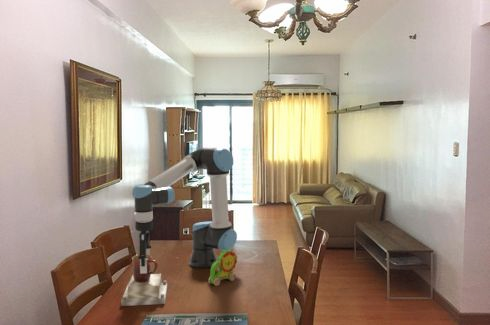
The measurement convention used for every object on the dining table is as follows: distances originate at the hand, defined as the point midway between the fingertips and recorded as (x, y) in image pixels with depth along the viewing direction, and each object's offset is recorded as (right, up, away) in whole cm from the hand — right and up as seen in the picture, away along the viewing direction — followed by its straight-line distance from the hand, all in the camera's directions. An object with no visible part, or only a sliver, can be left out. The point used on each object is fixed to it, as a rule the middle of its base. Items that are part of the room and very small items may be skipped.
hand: (145, 267), depth 186 cm
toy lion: (+34, -12, +19) cm, 41 cm away
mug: (0, -6, 0) cm, 6 cm away
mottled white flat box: (0, -13, +1) cm, 13 cm away
